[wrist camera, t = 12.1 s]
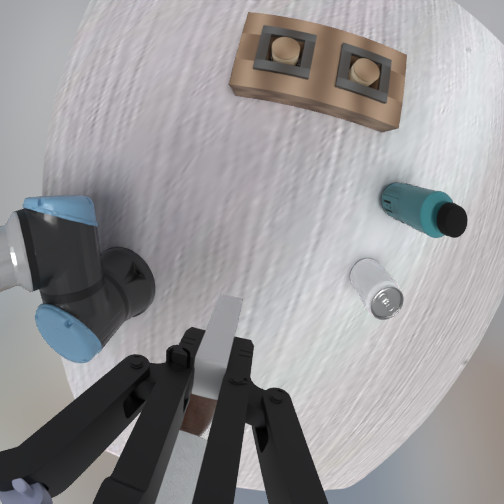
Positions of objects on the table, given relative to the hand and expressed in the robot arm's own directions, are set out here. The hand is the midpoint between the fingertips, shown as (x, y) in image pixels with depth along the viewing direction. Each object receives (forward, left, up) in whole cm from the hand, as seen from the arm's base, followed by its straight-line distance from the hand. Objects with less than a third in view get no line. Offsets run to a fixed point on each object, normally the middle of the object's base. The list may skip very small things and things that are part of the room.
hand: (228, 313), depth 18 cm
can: (+22, -5, -31) cm, 38 cm away
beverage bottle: (+23, +10, -31) cm, 40 cm away
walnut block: (+5, +28, -30) cm, 42 cm away
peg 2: (+11, +28, -29) cm, 42 cm away
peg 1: (-1, +28, -29) cm, 41 cm away
